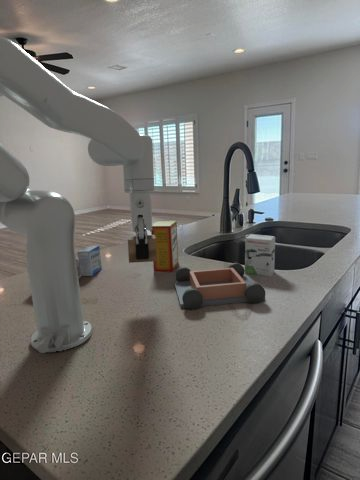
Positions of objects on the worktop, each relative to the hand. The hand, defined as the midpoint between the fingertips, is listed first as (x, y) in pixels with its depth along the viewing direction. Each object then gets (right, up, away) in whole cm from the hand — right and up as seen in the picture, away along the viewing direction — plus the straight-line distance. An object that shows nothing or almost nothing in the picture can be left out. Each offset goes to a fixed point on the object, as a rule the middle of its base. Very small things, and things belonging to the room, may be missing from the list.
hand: (142, 255), depth 88 cm
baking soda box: (+5, -6, +29) cm, 30 cm away
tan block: (0, -1, 0) cm, 1 cm away
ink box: (+35, -6, +20) cm, 41 cm away
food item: (-28, -10, +17) cm, 34 cm away
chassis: (+20, -10, +5) cm, 23 cm away
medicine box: (-21, -7, +28) cm, 35 cm away
